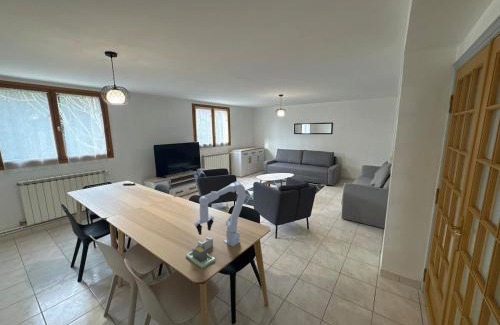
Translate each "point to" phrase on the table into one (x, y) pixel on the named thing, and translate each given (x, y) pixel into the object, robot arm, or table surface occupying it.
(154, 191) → the table surface
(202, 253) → the grey block yellow label
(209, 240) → the bay
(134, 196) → the table surface
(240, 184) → the robot arm
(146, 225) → the table surface
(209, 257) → the tray
